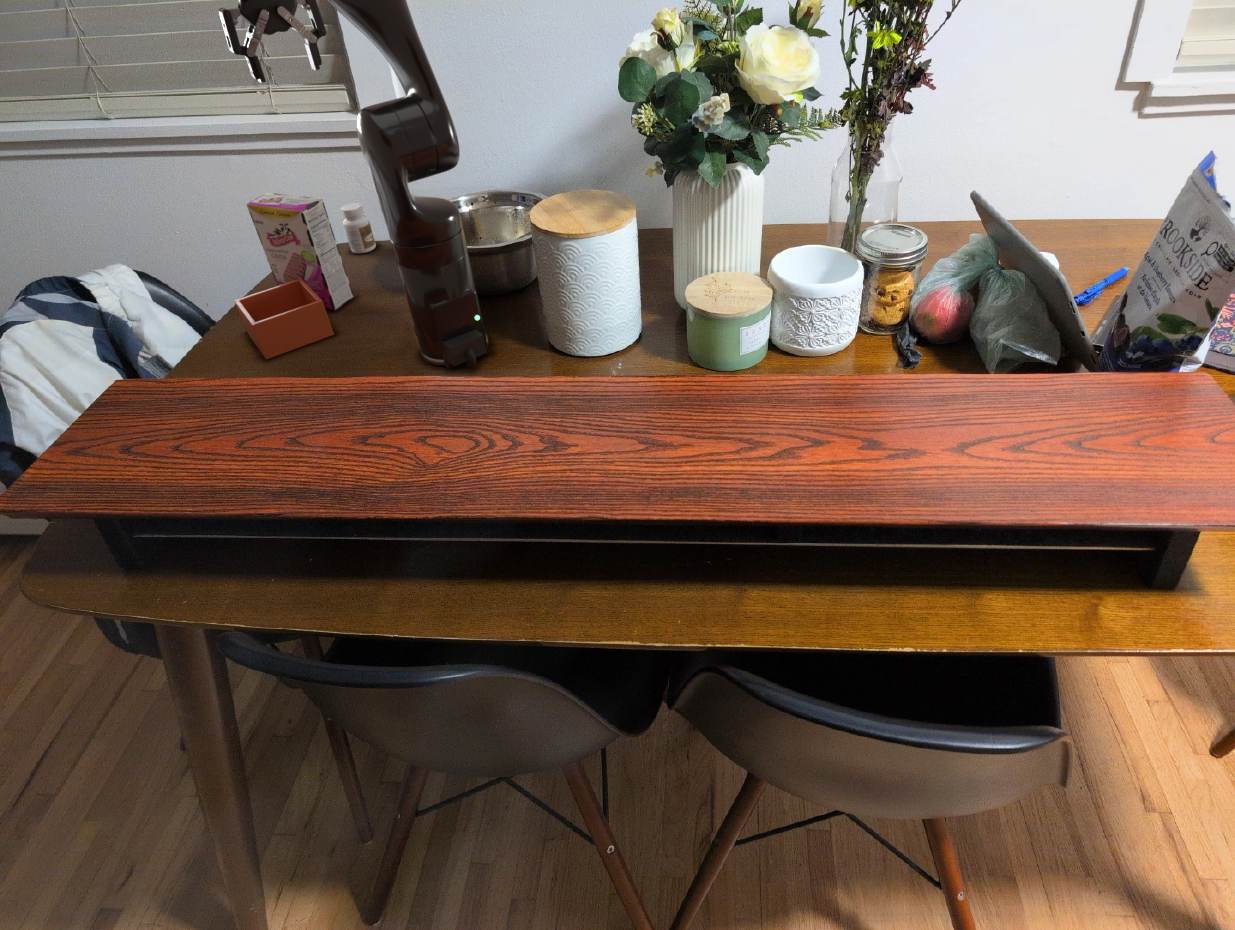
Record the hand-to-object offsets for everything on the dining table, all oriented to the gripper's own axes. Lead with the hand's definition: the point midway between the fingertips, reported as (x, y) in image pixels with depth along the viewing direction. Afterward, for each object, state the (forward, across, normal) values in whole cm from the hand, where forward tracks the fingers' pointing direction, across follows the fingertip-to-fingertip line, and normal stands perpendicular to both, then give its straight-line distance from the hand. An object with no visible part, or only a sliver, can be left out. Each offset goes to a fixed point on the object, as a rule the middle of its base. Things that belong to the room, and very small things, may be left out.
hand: (289, 75), depth 131 cm
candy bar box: (+30, -10, -15) cm, 35 cm away
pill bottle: (+30, +3, -1) cm, 30 cm away
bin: (+29, -17, -23) cm, 41 cm away
